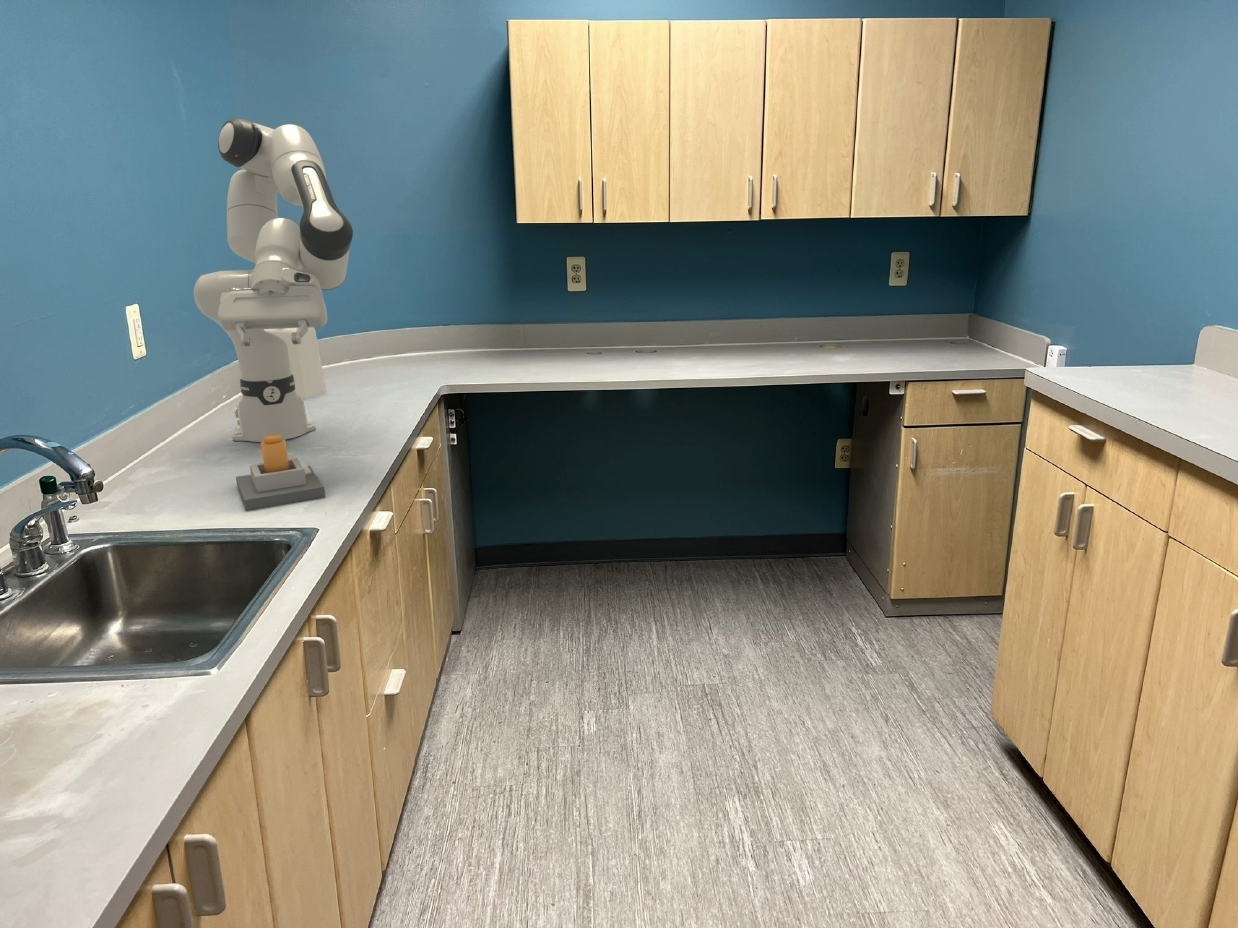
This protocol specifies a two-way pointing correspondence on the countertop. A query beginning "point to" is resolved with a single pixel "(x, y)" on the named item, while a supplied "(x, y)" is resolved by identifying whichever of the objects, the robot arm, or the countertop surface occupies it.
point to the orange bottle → (274, 453)
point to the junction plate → (279, 485)
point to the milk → (304, 362)
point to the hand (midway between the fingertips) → (270, 343)
